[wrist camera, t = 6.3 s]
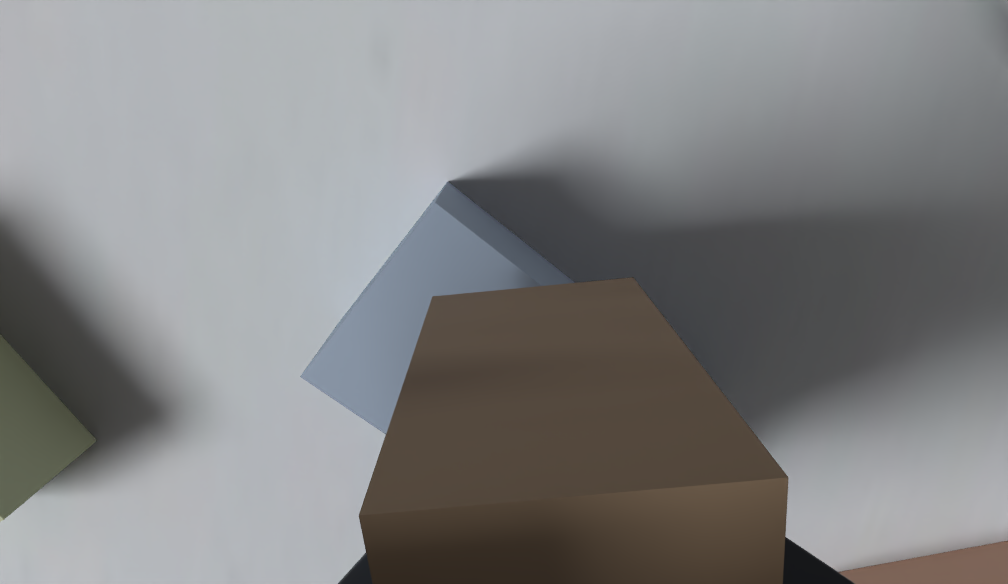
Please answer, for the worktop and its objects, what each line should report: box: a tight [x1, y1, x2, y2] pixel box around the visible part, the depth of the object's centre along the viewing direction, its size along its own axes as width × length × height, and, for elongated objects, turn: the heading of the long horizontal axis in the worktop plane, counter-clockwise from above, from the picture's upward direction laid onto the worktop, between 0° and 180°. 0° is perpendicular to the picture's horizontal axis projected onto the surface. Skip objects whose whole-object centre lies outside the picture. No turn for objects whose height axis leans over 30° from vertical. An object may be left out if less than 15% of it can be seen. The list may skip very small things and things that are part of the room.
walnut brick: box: [359, 277, 788, 584], centre depth 7 cm, size 6×3×5 cm, turn 5°
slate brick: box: [300, 182, 575, 434], centre depth 13 cm, size 8×4×3 cm, turn 51°
